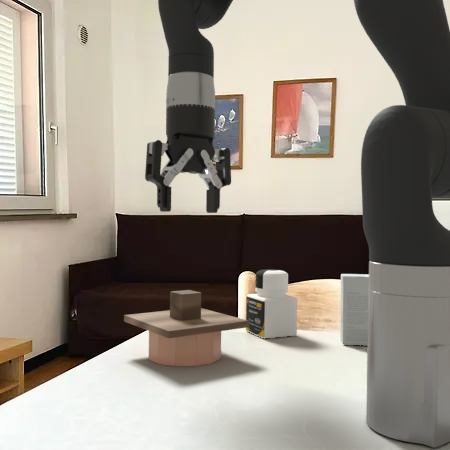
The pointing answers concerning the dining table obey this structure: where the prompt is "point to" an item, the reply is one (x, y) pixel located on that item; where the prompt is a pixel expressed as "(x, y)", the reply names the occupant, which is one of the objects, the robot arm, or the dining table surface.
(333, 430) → the dining table surface
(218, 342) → the terracotta bowl
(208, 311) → the walnut lid
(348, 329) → the skincare box
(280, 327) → the medicine bottle
